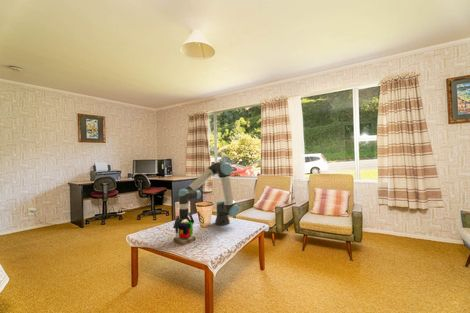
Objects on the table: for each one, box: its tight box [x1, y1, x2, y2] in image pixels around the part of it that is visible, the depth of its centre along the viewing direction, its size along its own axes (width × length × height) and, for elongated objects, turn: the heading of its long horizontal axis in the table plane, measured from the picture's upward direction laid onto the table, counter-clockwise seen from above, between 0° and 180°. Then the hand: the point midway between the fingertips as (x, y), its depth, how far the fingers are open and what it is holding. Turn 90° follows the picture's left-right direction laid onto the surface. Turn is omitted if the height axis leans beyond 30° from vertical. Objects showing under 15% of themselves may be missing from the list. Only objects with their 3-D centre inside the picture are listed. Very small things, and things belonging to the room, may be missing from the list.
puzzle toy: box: [175, 221, 194, 239], centre depth 180 cm, size 10×10×10 cm
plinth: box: [172, 235, 196, 246], centre depth 180 cm, size 13×13×3 cm
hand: (184, 233), depth 180 cm, fingers closed on puzzle toy, 12 cm apart
